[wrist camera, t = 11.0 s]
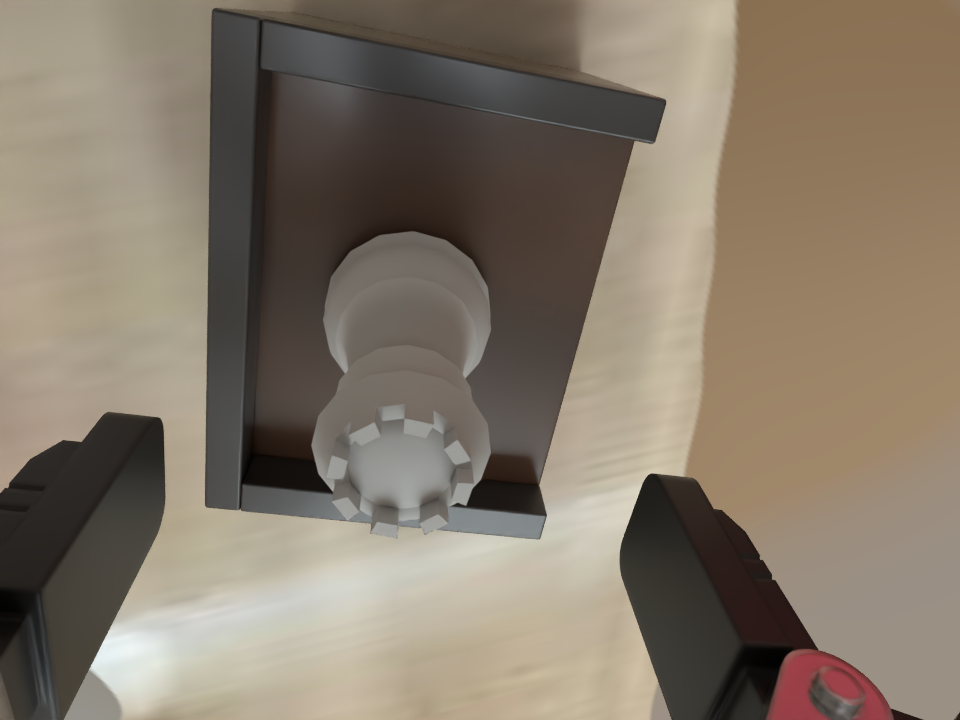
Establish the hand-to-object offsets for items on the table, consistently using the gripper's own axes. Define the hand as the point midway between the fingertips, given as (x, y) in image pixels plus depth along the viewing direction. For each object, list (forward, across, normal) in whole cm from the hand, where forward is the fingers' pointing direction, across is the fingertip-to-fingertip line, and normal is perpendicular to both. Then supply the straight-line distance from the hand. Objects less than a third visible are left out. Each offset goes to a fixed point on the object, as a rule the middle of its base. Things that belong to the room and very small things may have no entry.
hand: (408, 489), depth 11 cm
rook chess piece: (+8, 0, 0) cm, 9 cm away
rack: (+16, 0, 0) cm, 16 cm away
